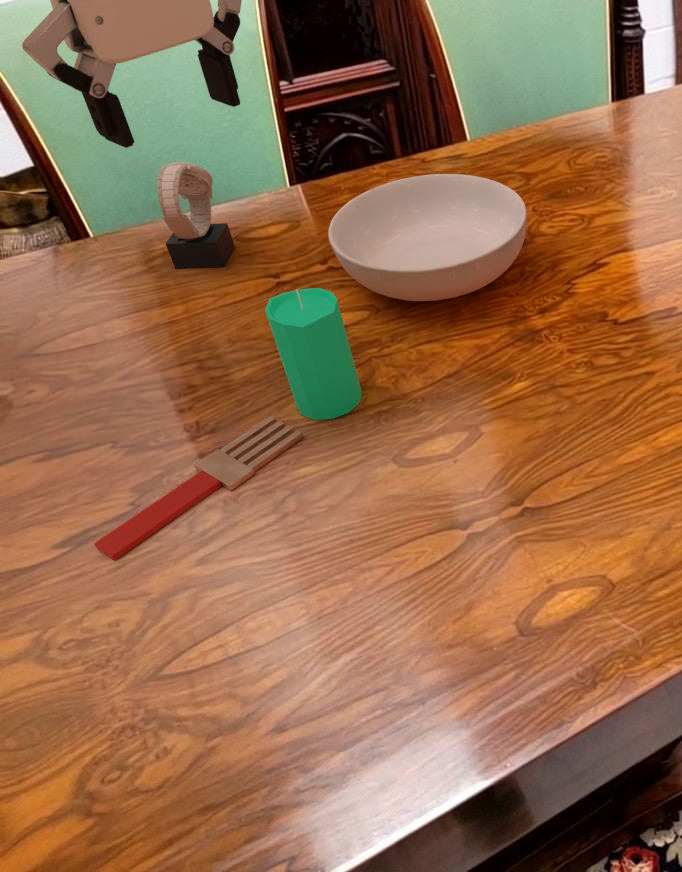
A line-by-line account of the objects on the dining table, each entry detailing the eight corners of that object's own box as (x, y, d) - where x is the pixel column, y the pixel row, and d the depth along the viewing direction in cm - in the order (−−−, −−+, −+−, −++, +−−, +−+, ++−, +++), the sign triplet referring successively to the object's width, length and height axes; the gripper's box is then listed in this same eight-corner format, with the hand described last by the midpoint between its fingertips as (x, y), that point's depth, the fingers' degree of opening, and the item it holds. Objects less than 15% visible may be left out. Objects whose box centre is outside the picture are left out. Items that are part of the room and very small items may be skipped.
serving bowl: (322, 254, 107) (307, 199, 103) (493, 212, 114) (487, 159, 110) (370, 348, 93) (355, 289, 89) (562, 293, 100) (557, 236, 96)
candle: (283, 414, 86) (245, 304, 78) (316, 376, 90) (283, 267, 82) (343, 424, 84) (311, 313, 77) (373, 384, 89) (345, 275, 81)
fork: (123, 567, 72) (120, 562, 72) (87, 542, 74) (84, 537, 74) (305, 438, 83) (304, 433, 83) (270, 419, 85) (268, 414, 85)
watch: (239, 239, 110) (210, 150, 103) (219, 275, 104) (187, 183, 97) (191, 240, 110) (159, 151, 103) (169, 276, 104) (132, 185, 97)
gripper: (172, -148, 71) (236, 79, 82) (-65, -107, 60) (45, 147, 71) (235, -136, 68) (292, 98, 79) (-4, -91, 57) (102, 173, 68)
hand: (175, 121), depth 75 cm, fingers open, 9 cm apart
